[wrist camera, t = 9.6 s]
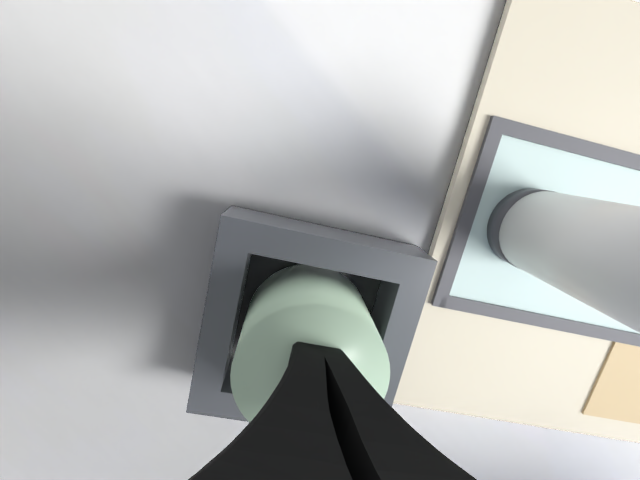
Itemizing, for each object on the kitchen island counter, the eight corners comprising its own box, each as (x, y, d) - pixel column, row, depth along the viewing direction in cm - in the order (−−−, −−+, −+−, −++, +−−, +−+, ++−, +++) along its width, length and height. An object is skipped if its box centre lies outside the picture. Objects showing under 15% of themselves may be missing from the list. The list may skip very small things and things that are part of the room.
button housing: (369, 404, 15) (380, 441, 13) (200, 377, 14) (186, 412, 12) (417, 245, 14) (437, 261, 12) (231, 205, 13) (221, 215, 11)
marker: (546, 271, 14) (868, 428, 6) (475, 257, 13) (718, 403, 6) (575, 196, 13) (976, 264, 5) (501, 179, 13) (813, 226, 5)
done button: (349, 382, 14) (367, 455, 11) (236, 363, 14) (217, 433, 10) (379, 277, 13) (409, 320, 10) (259, 252, 13) (246, 289, 9)
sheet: (671, 442, 17) (685, 453, 16) (384, 395, 15) (387, 405, 15) (860, 82, 13) (885, 79, 13) (515, -30, 12) (527, -39, 11)
